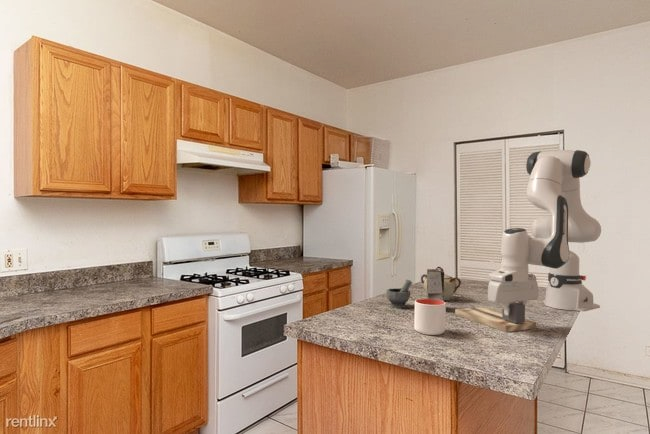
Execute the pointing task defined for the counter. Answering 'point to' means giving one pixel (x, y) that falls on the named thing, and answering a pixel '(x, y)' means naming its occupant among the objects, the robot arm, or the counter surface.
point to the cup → (430, 316)
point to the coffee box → (435, 284)
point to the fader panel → (493, 319)
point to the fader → (515, 313)
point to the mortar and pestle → (399, 295)
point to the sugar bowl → (445, 285)
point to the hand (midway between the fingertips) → (513, 314)
